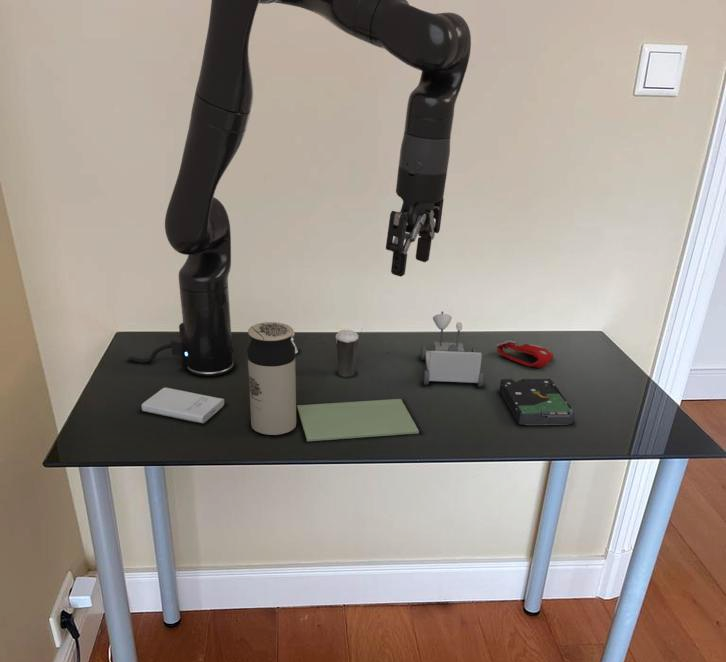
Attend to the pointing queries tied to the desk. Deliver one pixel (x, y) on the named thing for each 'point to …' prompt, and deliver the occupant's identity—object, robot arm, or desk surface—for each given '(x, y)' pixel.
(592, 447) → the desk surface
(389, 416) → the mat
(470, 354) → the toy car
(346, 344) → the milkshake
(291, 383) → the travel mug
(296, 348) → the chess pawn
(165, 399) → the hard drive
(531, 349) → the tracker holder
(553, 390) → the disk drive
